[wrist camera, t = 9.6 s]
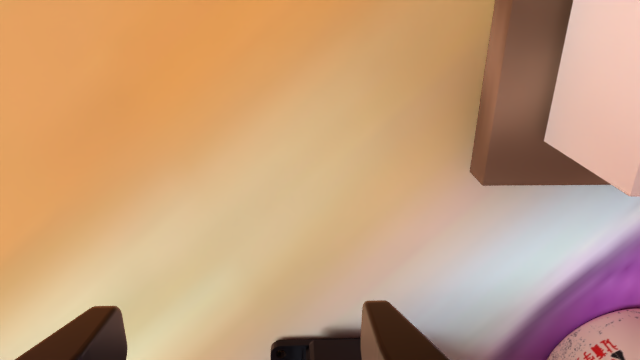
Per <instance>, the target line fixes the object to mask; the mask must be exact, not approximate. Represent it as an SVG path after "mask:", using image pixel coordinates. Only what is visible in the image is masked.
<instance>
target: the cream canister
mask: <svg viewBox="0 0 640 360" xmlns="http://www.w3.org/2000/svg"><path fill="white" fill-rule="evenodd" d="M547 360H640V308H635V309H625V310H619V311H615V312H611V313H608V314H605V315H602V316H600V317H597V318H595V319H593V320H591V321H589V322H587V323H585V324H583V325H581V326H580V327H578V328H577V329H575V330H574V331H573V332H571V333H570V334H569V335H567V336H566V337H565V338H564V339H563V340H562V341H561V342H560V343H559V344H558V345H557V346H556V347H555V349H554V350H553V351H552V352H551V354H550V355H549V357H548V359H547Z"/></svg>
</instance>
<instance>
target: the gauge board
mask: <svg viewBox="0 0 640 360" xmlns="http://www.w3.org/2000/svg"><path fill="white" fill-rule="evenodd" d="M572 4H573V0H495V6H494V13H493V20H492V26H491V33H490V40H489V46H488V53H487V60H486V66H485V73H484V80H483V87H482V93H481V100H480V107H479V113H478V120H477V127H476V133H475V140H474V147H473V154H472V160H471V167H470V172H471V173H472V175H473V176H474V177H475V178H476V179H477V180H478V181H479V182H480V183H481V184H482V185H611V184H610V183H608V182H607V181H605V180H604V179H602V178H600V177H599V176H597V175H596V174H594V173H593V172H591V171H590V170H588V169H586V168H585V167H583V166H582V165H580V164H579V163H577V162H576V161H574V160H572V159H571V158H569V157H568V156H566V155H565V154H563V153H562V152H560V151H558V150H557V149H555V148H554V147H552V146H551V145H549V144H548V143H546V142H544V138H545V133H546V128H547V124H548V119H549V114H550V109H551V104H552V100H553V95H554V90H555V85H556V81H557V76H558V71H559V66H560V61H561V57H562V52H563V47H564V42H565V37H566V33H567V28H568V23H569V18H570V13H571V9H572Z"/></svg>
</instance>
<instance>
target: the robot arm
mask: <svg viewBox="0 0 640 360" xmlns="http://www.w3.org/2000/svg"><path fill="white" fill-rule="evenodd" d="M278 350H284V352H278ZM126 357H127V341H126V335H125V329H124V324H123V318H122V313H121V311H120V309H119V308H118V307H117V306H95V307H92V308H90V309H89V310H87V311H86V312H84V313H83V314H81V315H80V316H78V317H77V318H75V319H74V320H72V321H71V322H70V323H68V324H67V325H65V326H64V327H62V328H61V329H59V330H58V331H56V332H55V333H53V334H52V335H50V336H49V337H47V338H46V339H45V340H43V341H42V342H40V343H39V344H37V345H36V346H34V347H33V348H31V349H30V350H28V351H27V352H25V353H24V354H22V355H21V356H20V357H18V358H17V359H15V360H126ZM271 360H450V359H449V358H447V357H446V356H445V355H444V354H443V353H442V352H441V351H440V350H439V349H438V348H437V347H436V346H435V345H434V344H433V343H432V342H431V341H429V340H428V339H427V338H426V337H425V336H424V335H423V334H422V333H421V332H420V331H419V330H418V329H417V328H416V327H415V326H414V325H412V324H411V323H410V322H409V321H408V320H407V319H406V318H405V317H404V316H403V315H402V314H401V313H400V312H399V311H398V310H397V309H396V308H394V307H393V306H392V305H391V304H390V303H389V302H387V301H366V302H365V303H364V304H363V309H362V325H361V338H346V339H307V340H279V341H276V342H274V343H273V344H272V346H271Z"/></svg>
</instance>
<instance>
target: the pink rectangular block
mask: <svg viewBox="0 0 640 360" xmlns="http://www.w3.org/2000/svg"><path fill="white" fill-rule="evenodd" d="M544 142H546V143H548V144H549V145H551V146H552V147H554V148H555V149H557V150H558V151H560V152H562V153H563V154H565V155H566V156H568V157H569V158H571V159H572V160H574V161H576V162H577V163H579V164H580V165H582V166H583V167H585V168H586V169H588V170H590V171H591V172H593V173H594V174H596V175H597V176H599V177H600V178H602V179H604V180H605V181H607V182H608V183H610V184H611V185H613V186H614V187H616V188H618V189H619V190H621V191H622V192H624V193H625V194H627V195H628V196H640V0H573V4H572V9H571V13H570V18H569V23H568V28H567V33H566V37H565V42H564V47H563V52H562V57H561V61H560V66H559V71H558V76H557V81H556V85H555V90H554V95H553V100H552V104H551V109H550V114H549V119H548V124H547V128H546V133H545V138H544Z"/></svg>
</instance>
